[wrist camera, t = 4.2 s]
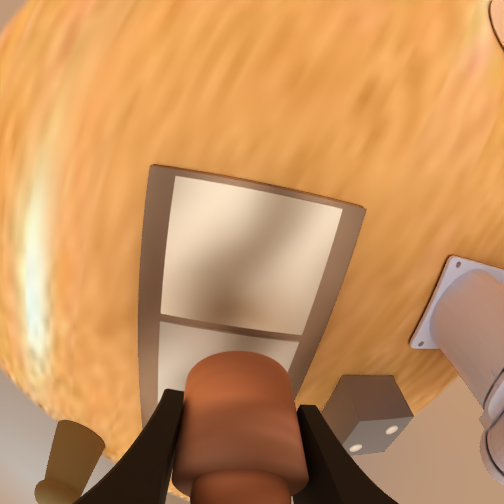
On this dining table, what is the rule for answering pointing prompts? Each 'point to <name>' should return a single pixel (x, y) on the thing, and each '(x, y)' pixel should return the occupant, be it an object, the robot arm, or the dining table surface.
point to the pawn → (239, 433)
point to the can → (498, 19)
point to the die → (367, 413)
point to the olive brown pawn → (69, 463)
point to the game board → (235, 274)
